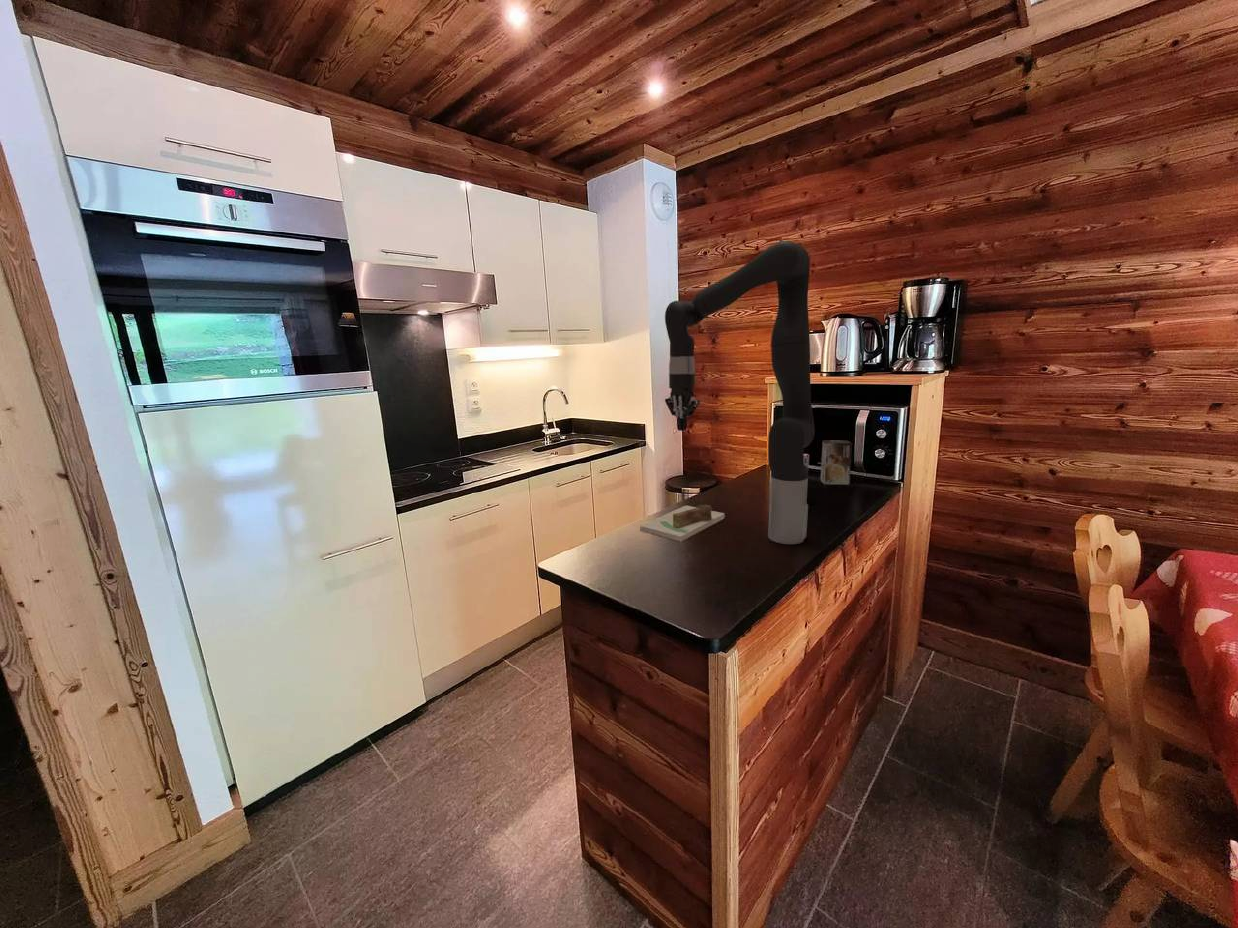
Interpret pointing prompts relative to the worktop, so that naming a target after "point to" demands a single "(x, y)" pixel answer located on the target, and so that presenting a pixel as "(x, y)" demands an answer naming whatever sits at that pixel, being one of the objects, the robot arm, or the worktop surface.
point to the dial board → (667, 530)
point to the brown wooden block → (692, 515)
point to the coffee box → (836, 462)
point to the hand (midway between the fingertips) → (681, 430)
